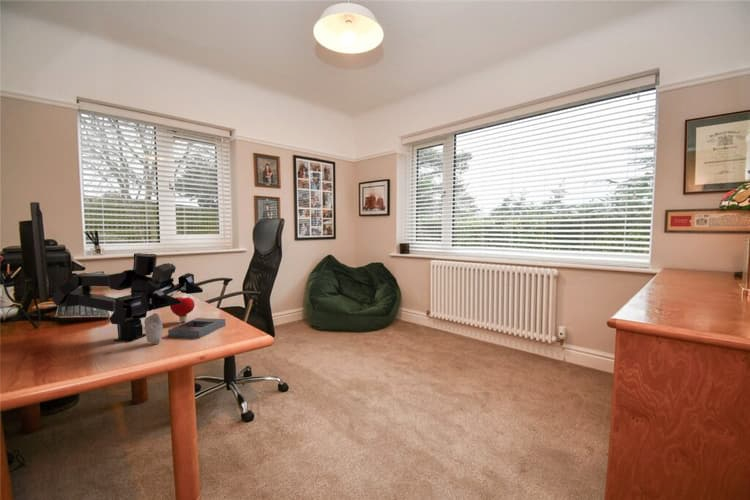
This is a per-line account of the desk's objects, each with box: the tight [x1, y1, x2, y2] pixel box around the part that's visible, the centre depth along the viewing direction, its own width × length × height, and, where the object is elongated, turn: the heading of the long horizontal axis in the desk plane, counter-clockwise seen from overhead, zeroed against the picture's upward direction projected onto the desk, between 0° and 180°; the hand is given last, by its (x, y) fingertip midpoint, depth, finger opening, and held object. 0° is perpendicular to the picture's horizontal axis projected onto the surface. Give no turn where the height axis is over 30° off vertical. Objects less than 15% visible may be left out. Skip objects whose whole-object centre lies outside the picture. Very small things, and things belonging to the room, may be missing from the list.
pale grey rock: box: [143, 312, 164, 345], centre depth 102 cm, size 6×4×10 cm, turn 172°
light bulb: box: [169, 296, 196, 324], centre depth 124 cm, size 9×7×10 cm
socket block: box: [167, 317, 226, 339], centre depth 114 cm, size 12×14×2 cm
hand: (191, 296), depth 101 cm, fingers open, 9 cm apart
